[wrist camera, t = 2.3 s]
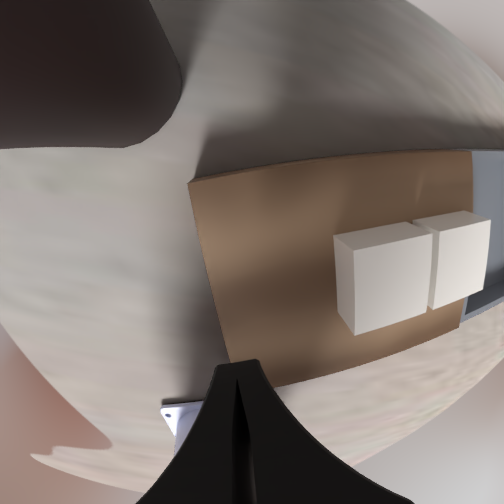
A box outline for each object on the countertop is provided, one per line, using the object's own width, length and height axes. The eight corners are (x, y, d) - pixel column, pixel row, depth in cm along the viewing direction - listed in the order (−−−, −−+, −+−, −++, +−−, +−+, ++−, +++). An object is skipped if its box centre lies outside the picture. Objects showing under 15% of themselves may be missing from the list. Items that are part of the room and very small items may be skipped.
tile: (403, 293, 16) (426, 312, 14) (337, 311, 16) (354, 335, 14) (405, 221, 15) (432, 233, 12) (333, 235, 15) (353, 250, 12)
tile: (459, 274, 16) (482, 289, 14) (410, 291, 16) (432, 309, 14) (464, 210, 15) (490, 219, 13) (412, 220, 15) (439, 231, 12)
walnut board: (438, 310, 21) (458, 327, 18) (236, 365, 20) (239, 394, 17) (443, 149, 17) (471, 151, 14) (193, 178, 16) (187, 183, 13)
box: (503, 281, 21) (520, 291, 19) (440, 309, 21) (458, 323, 18) (512, 150, 17) (532, 152, 15) (445, 148, 17) (470, 150, 14)
